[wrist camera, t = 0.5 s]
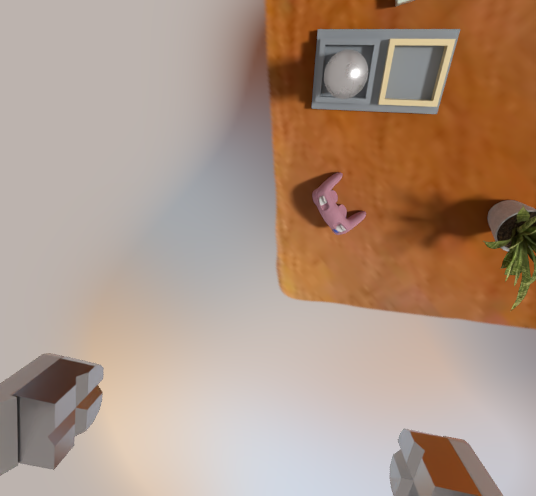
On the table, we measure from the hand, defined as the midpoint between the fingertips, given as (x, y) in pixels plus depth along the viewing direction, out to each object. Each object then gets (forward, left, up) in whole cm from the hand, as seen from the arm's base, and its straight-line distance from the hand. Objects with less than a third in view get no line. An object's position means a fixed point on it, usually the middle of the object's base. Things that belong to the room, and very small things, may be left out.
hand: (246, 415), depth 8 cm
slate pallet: (-5, +7, -49) cm, 50 cm away
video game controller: (+14, 0, -49) cm, 51 cm away
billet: (-6, +3, -48) cm, 48 cm away
